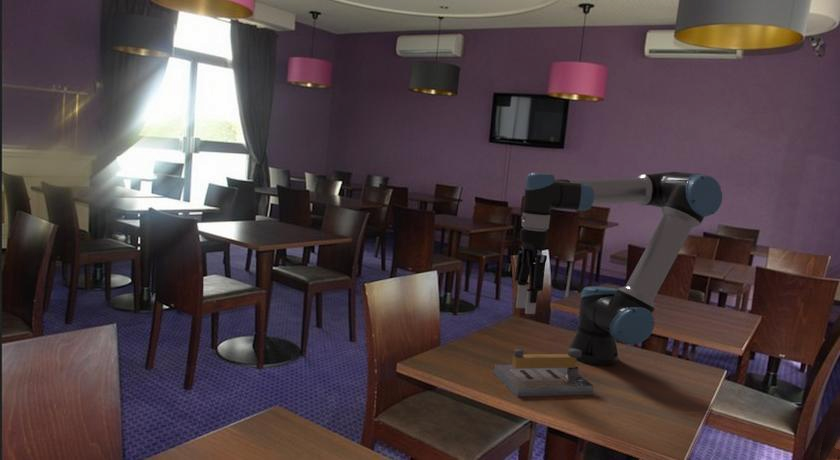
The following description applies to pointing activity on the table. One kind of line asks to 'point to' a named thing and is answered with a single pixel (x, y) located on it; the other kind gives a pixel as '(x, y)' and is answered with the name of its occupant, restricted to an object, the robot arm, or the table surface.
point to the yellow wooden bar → (546, 359)
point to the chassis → (543, 381)
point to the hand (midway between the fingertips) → (525, 310)
